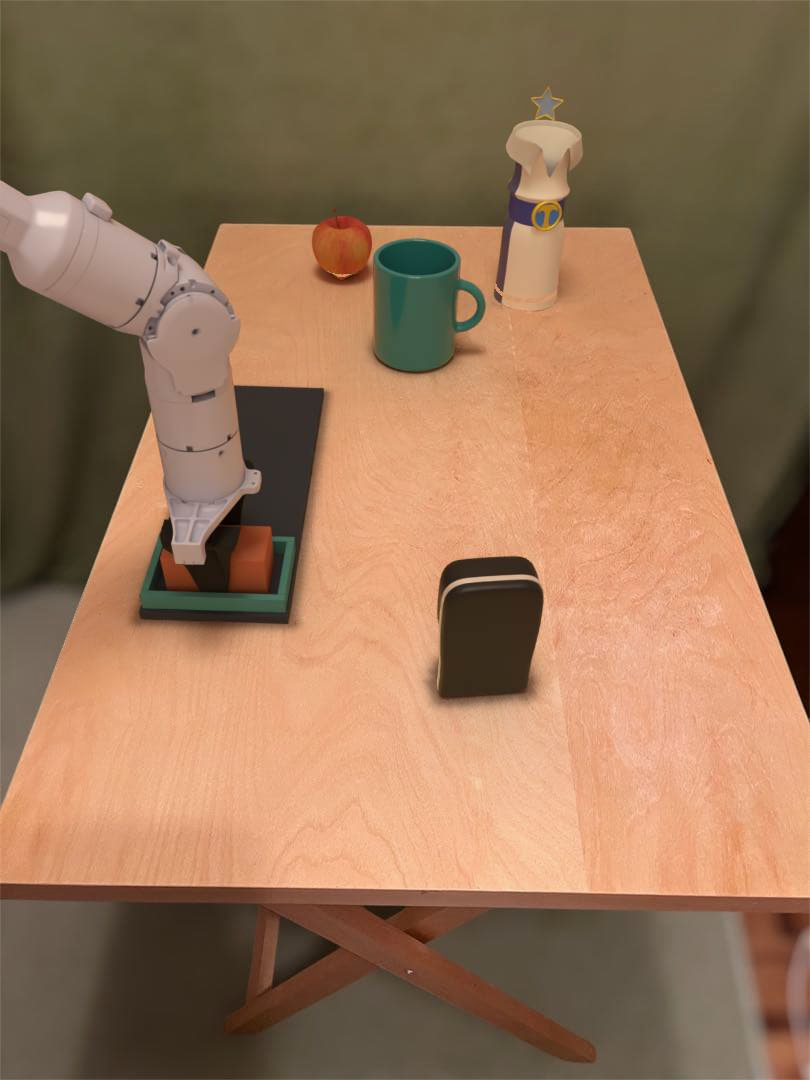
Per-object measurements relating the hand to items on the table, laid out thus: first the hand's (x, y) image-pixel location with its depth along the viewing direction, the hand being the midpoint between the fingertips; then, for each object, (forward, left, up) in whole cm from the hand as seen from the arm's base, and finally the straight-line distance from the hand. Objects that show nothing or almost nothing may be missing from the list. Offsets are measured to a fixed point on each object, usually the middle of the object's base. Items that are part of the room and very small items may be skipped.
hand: (219, 566), depth 73 cm
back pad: (+3, +12, -2) cm, 12 cm away
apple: (+19, +52, -2) cm, 55 cm away
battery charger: (+18, -13, -2) cm, 22 cm away
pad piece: (0, 0, -1) cm, 1 cm away
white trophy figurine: (+40, +42, -2) cm, 58 cm away
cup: (+25, +32, -2) cm, 40 cm away
